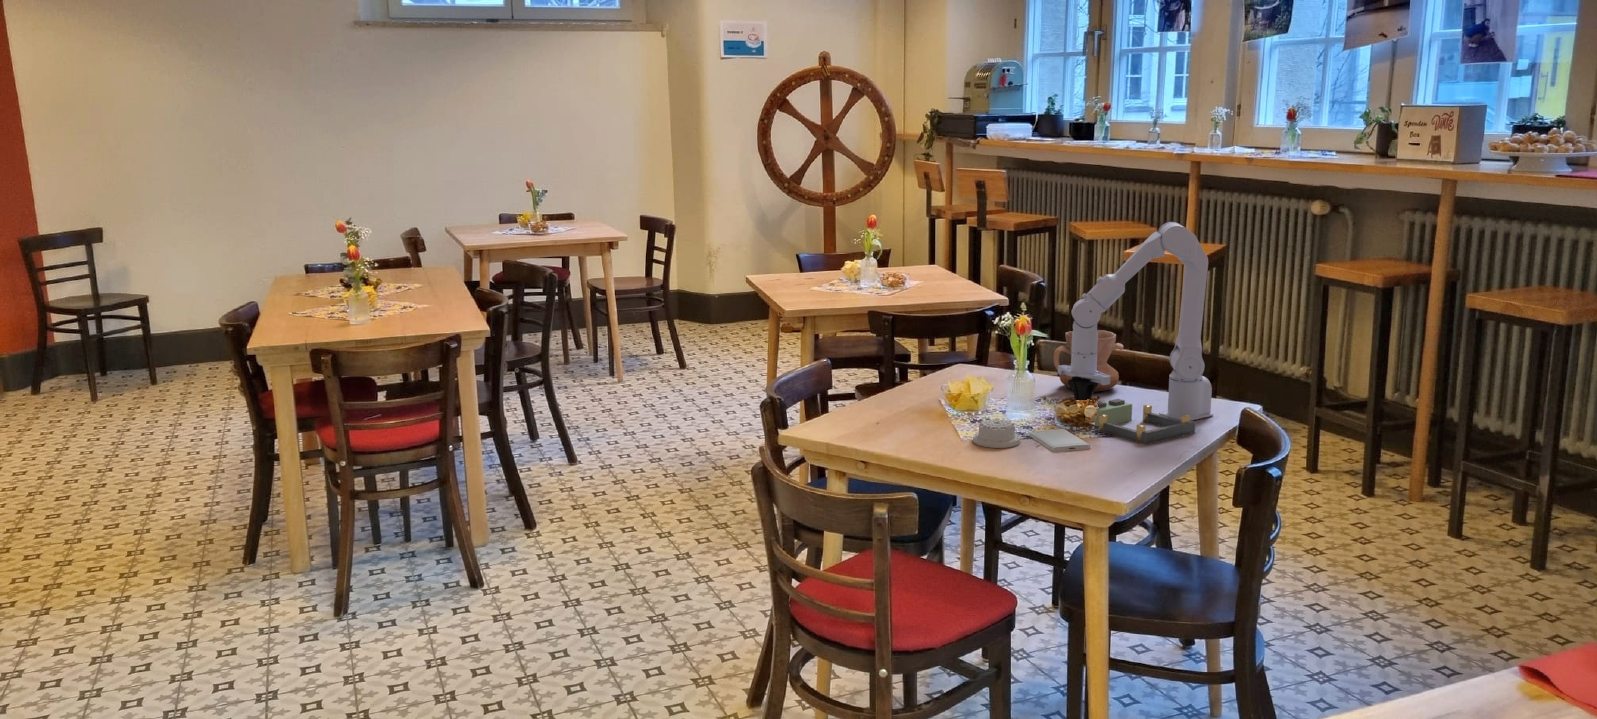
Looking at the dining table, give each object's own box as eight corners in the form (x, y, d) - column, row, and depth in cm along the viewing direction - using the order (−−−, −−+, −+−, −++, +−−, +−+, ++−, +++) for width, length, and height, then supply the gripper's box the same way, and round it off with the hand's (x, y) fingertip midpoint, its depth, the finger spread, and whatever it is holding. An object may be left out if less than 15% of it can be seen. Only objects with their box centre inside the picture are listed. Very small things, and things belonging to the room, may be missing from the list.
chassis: (1146, 419, 262) (1147, 404, 262) (1195, 432, 251) (1196, 417, 250) (1096, 430, 254) (1097, 415, 253) (1145, 444, 243) (1146, 428, 242)
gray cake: (1029, 442, 247) (991, 433, 254) (1030, 422, 246) (991, 414, 253) (1001, 452, 240) (963, 443, 247) (1002, 431, 239) (963, 423, 246)
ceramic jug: (1110, 380, 300) (1112, 326, 297) (1132, 393, 286) (1134, 337, 283) (1042, 383, 298) (1044, 329, 295) (1061, 397, 284) (1063, 340, 281)
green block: (1114, 416, 266) (1115, 396, 265) (1131, 421, 262) (1132, 400, 261) (1083, 423, 261) (1084, 402, 260) (1100, 428, 257) (1101, 407, 256)
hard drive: (1029, 431, 251) (1053, 446, 239) (1064, 428, 252) (1090, 443, 240) (1029, 438, 251) (1053, 454, 239) (1064, 435, 253) (1090, 451, 241)
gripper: (1048, 349, 269) (1047, 405, 272) (1095, 359, 257) (1093, 418, 260) (1070, 345, 273) (1069, 401, 276) (1117, 355, 261) (1115, 414, 264)
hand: (1082, 409), depth 268 cm, fingers closed
